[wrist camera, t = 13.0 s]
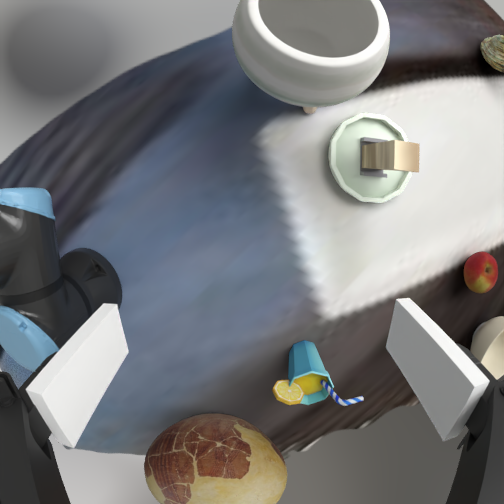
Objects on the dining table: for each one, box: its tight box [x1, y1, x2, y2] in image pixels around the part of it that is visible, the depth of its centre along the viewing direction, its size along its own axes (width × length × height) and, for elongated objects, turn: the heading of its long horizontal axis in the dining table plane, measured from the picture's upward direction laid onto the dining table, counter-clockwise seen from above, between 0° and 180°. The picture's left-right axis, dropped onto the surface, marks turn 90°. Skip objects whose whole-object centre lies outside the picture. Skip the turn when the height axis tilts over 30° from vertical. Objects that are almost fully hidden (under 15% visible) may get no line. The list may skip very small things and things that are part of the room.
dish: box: [328, 113, 412, 203], centre depth 40 cm, size 14×14×3 cm
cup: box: [272, 340, 363, 406], centre depth 45 cm, size 14×8×15 cm, turn 93°
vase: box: [144, 413, 287, 504], centre depth 44 cm, size 28×27×30 cm
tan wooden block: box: [362, 140, 419, 172], centre depth 35 cm, size 4×4×12 cm
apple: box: [464, 252, 498, 293], centre depth 42 cm, size 8×8×8 cm
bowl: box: [470, 316, 504, 380], centre depth 45 cm, size 16×16×10 cm
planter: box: [232, 0, 390, 114], centre depth 28 cm, size 16×16×22 cm
